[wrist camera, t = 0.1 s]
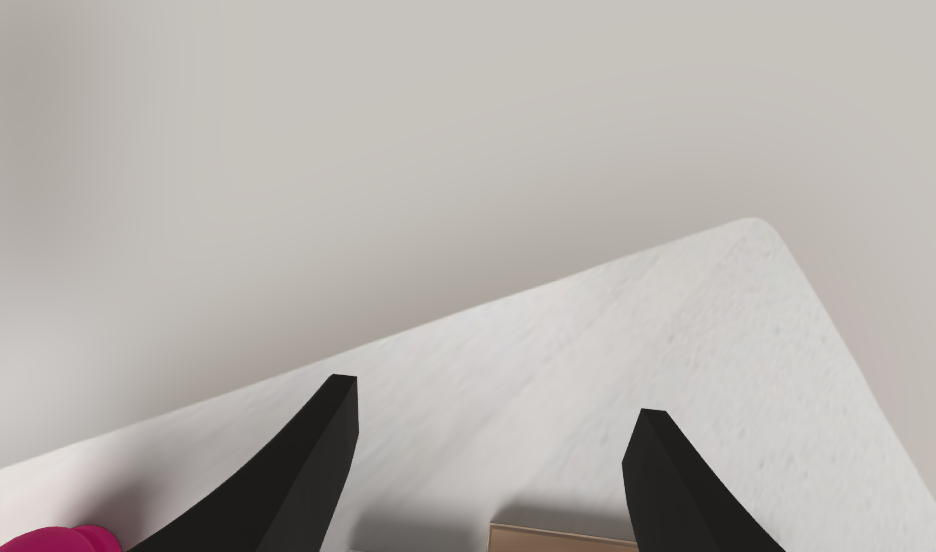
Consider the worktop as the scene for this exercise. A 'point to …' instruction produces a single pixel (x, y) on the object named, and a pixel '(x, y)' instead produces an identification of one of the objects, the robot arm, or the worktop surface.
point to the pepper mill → (64, 540)
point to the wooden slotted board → (550, 541)
